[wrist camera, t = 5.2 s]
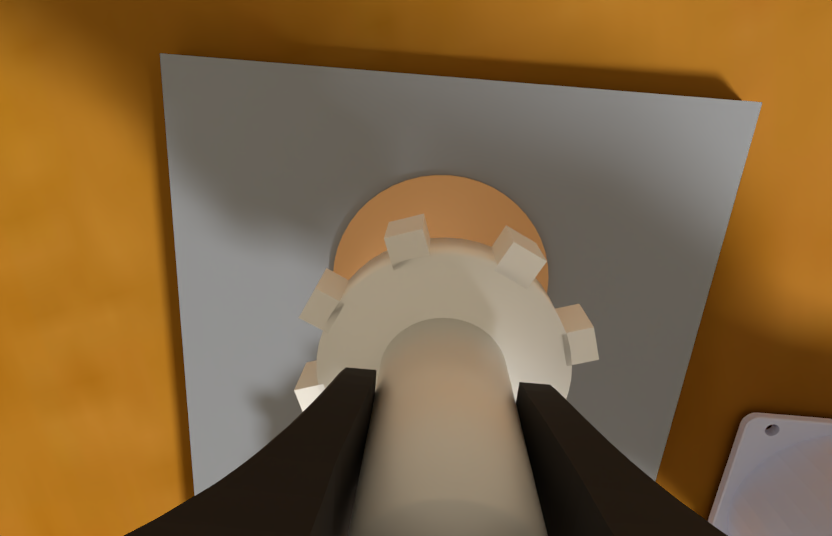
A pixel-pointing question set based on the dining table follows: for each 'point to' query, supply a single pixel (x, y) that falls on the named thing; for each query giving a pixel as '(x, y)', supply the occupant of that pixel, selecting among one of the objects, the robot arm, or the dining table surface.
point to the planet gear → (445, 378)
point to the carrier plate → (437, 223)
